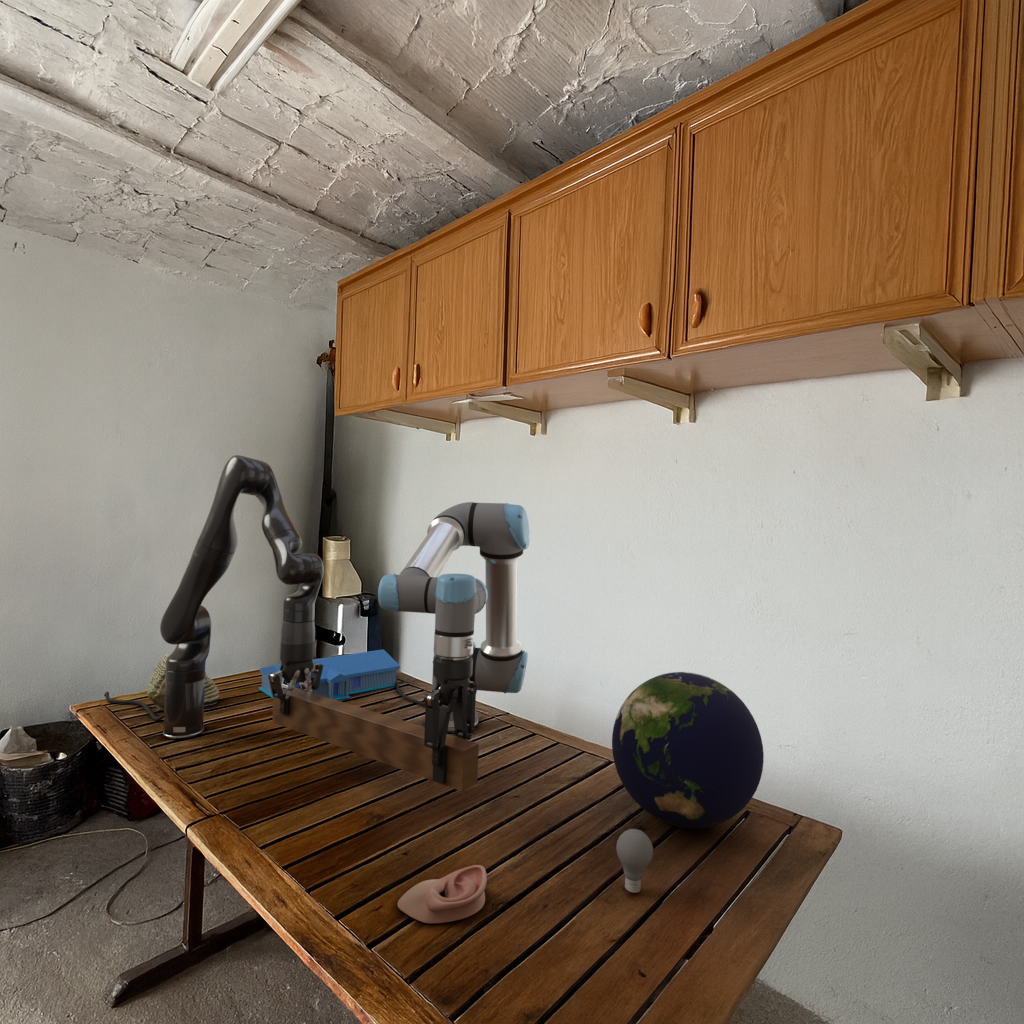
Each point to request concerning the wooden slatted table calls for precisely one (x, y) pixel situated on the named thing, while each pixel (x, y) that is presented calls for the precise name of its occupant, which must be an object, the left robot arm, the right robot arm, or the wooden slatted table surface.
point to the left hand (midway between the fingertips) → (295, 711)
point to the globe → (687, 750)
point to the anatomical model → (446, 896)
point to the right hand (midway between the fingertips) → (448, 776)
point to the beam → (377, 737)
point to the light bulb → (634, 857)
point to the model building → (347, 674)
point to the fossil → (158, 687)
